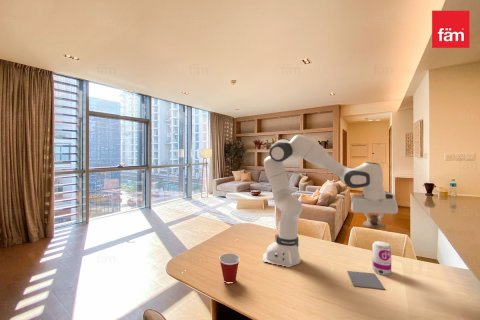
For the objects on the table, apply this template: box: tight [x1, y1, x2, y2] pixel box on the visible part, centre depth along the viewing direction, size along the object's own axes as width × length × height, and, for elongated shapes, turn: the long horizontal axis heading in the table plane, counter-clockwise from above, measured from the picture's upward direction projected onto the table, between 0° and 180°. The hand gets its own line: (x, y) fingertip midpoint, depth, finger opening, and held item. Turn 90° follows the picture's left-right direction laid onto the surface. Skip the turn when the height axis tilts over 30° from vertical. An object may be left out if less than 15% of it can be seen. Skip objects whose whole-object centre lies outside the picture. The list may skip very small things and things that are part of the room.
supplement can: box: [371, 240, 392, 276], centre depth 113 cm, size 8×8×15 cm
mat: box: [346, 270, 386, 291], centre depth 106 cm, size 13×13×1 cm
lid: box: [362, 214, 387, 230], centre depth 109 cm, size 10×10×5 cm
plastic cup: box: [218, 252, 241, 283], centre depth 108 cm, size 11×11×12 cm
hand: (373, 221), depth 109 cm, fingers closed on lid, 3 cm apart
